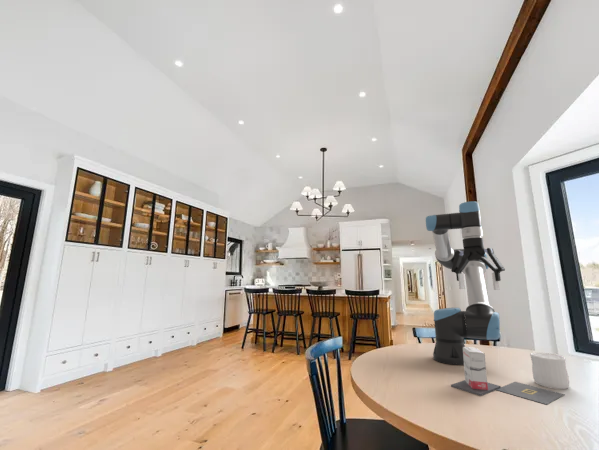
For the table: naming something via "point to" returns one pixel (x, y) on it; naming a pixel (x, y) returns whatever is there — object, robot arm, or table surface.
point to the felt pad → (464, 386)
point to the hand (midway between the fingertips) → (478, 289)
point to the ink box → (475, 368)
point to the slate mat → (530, 392)
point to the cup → (550, 370)
